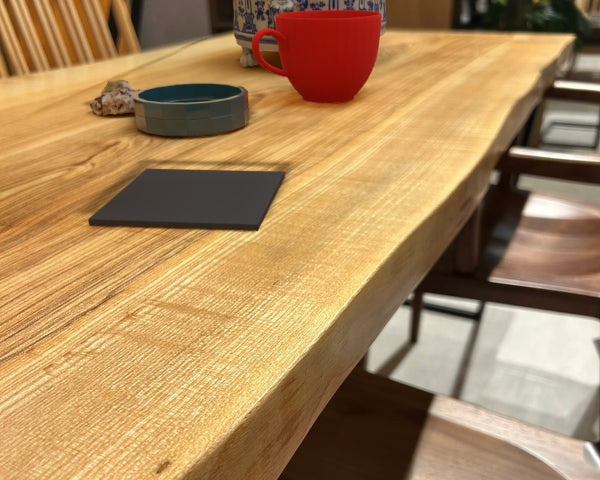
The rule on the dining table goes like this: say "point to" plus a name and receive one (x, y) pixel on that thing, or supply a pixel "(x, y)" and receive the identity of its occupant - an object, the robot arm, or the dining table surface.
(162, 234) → the dining table surface
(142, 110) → the teal bowl
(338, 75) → the ceramic cup
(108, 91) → the mineral rock
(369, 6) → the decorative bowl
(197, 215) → the mat
